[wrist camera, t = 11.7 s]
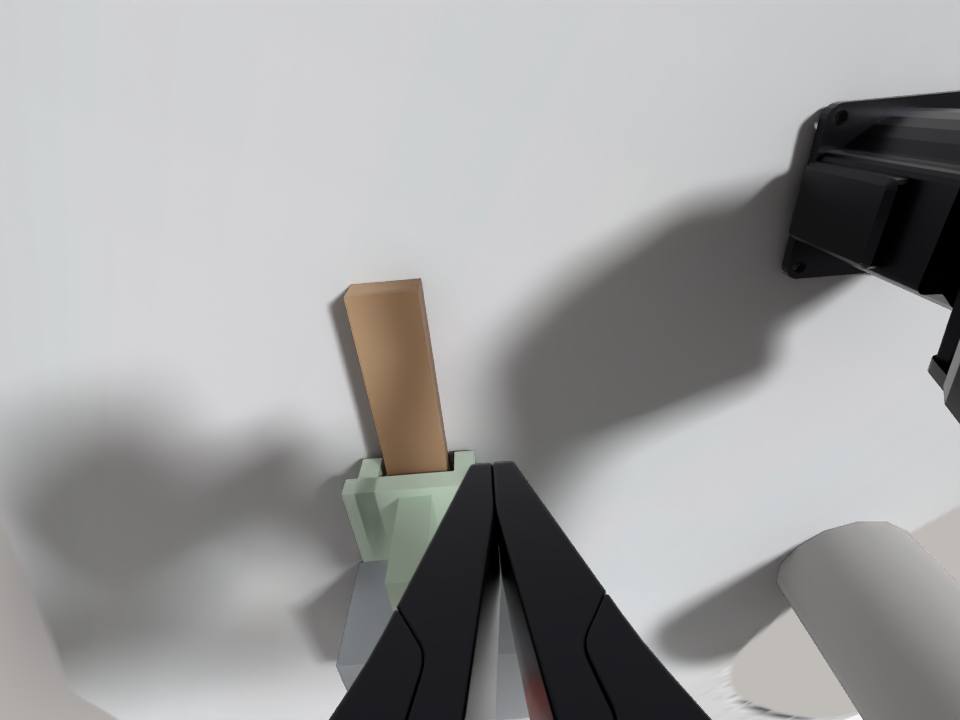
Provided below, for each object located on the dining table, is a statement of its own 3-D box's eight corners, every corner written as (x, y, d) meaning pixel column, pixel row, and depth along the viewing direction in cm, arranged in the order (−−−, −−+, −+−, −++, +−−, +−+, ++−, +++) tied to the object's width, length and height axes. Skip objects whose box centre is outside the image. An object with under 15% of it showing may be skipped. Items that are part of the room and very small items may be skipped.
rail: (420, 278, 20) (417, 290, 18) (463, 554, 29) (463, 574, 27) (350, 284, 20) (343, 297, 18) (415, 558, 29) (413, 578, 27)
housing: (519, 550, 29) (531, 652, 23) (523, 616, 32) (535, 717, 27) (354, 563, 29) (330, 666, 24) (376, 627, 32) (359, 729, 27)
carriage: (485, 449, 24) (491, 567, 18) (491, 515, 27) (499, 638, 21) (351, 460, 24) (314, 580, 18) (370, 525, 27) (343, 650, 21)
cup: (854, 610, 33) (993, 796, 24) (752, 595, 32) (861, 784, 23) (941, 532, 29) (1146, 720, 20) (829, 510, 28) (996, 702, 19)
